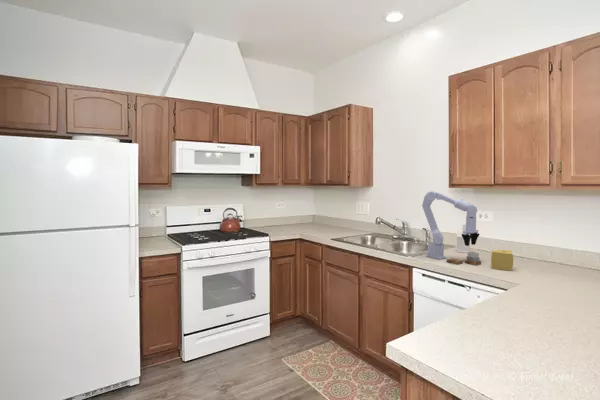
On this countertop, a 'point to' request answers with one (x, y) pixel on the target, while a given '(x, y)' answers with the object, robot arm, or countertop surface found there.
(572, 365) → the countertop surface
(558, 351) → the countertop surface
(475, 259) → the block
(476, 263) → the stand
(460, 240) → the white bottle
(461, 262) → the stand
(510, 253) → the cheese
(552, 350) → the countertop surface
